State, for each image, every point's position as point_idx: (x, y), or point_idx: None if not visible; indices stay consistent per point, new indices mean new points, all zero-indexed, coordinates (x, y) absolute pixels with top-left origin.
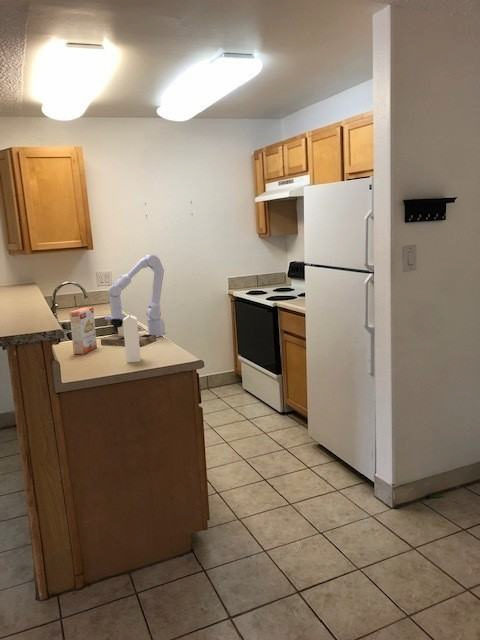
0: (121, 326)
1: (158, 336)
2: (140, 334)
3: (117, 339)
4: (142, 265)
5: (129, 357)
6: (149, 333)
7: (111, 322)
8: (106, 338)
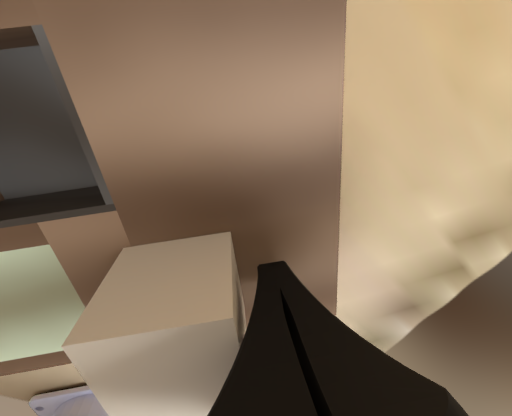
0: None
1: (32, 405)
2: (41, 354)
3: (49, 59)
4: None
5: None
6: (102, 413)
7: (428, 393)
8: (279, 41)
